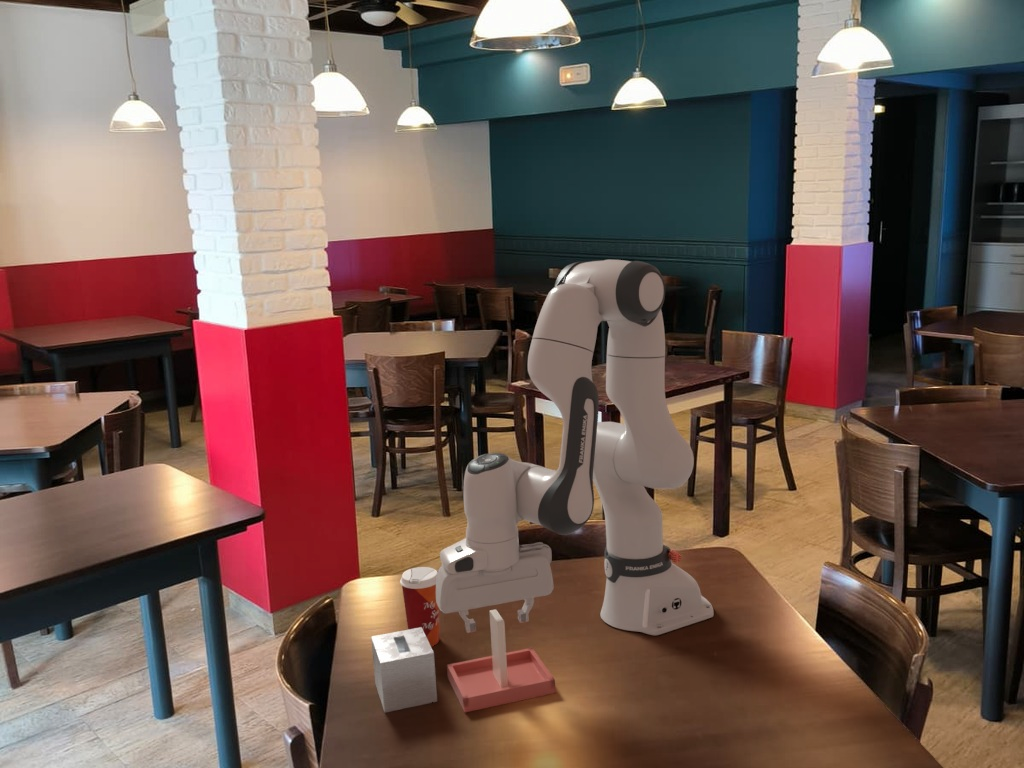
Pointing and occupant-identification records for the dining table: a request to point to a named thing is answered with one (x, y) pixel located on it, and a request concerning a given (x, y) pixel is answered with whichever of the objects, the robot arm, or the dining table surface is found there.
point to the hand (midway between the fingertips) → (497, 625)
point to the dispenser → (404, 669)
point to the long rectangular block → (498, 648)
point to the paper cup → (421, 601)
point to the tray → (484, 690)
